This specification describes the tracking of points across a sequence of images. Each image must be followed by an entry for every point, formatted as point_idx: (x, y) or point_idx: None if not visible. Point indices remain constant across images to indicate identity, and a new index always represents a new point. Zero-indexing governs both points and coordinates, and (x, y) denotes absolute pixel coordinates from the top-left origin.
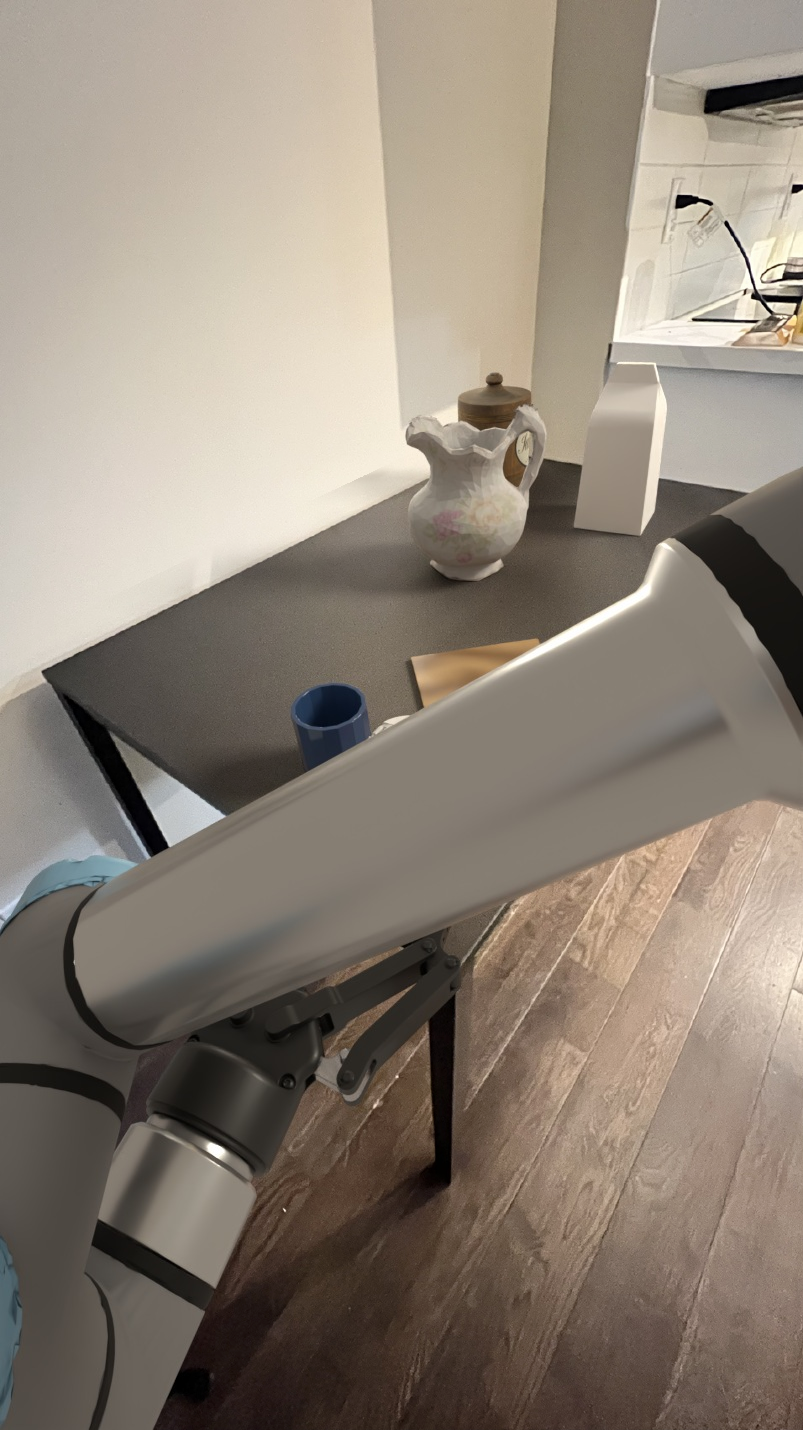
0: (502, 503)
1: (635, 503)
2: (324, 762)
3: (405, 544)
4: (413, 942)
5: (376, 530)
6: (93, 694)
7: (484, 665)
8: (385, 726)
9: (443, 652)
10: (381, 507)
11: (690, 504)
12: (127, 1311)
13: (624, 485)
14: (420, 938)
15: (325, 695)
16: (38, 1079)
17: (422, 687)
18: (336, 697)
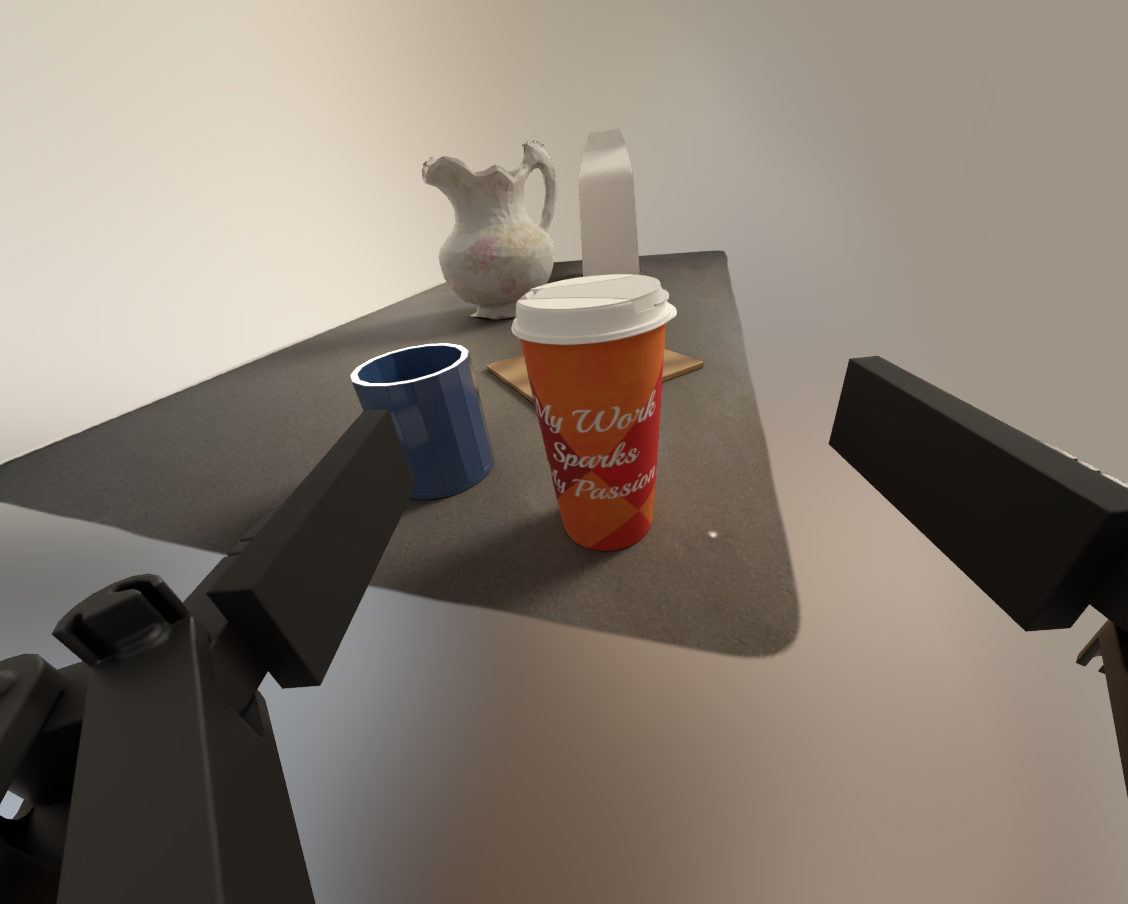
0: (532, 230)
1: (630, 248)
2: (424, 446)
3: (440, 312)
4: (1059, 584)
5: (407, 311)
6: (23, 495)
7: None
8: (537, 291)
9: (520, 355)
10: (407, 301)
11: (661, 260)
12: None
13: (618, 233)
14: (1123, 546)
15: (401, 368)
16: None
17: (514, 380)
18: (418, 370)
